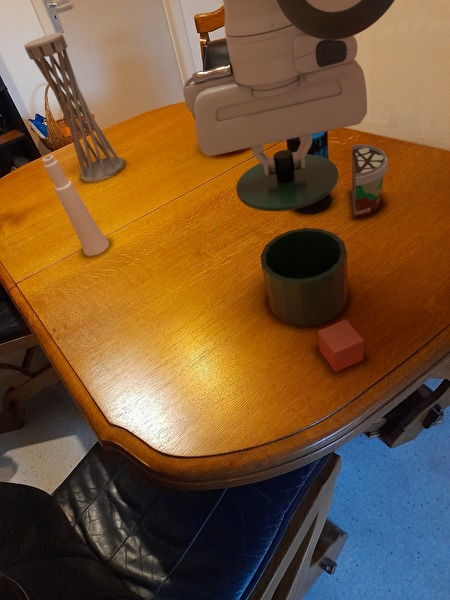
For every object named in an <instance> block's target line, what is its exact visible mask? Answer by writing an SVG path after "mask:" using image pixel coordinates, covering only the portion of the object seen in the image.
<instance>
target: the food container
mask: <svg viewBox="0 0 450 600" xmlns="http://www.w3.org/2000/svg"><path fill="white" fill-rule="evenodd" d="M388 170H389V162H388V157H387V155H386V152H384V150H382V149H381V148H379V147H377V146H374V145H369V144H353V145H351V189H352V190H351V193H352V203H353V210H354V211H353V212H354V218H356V219H357V218H358V219H359V218H363V217H366V216H369V215H371V214H373V213H374V212H376V211H377V210H378V209H379V207H380V203H381V196H382V189H383V184H384V176H385V175H386V173H387V172H388Z"/></svg>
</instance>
